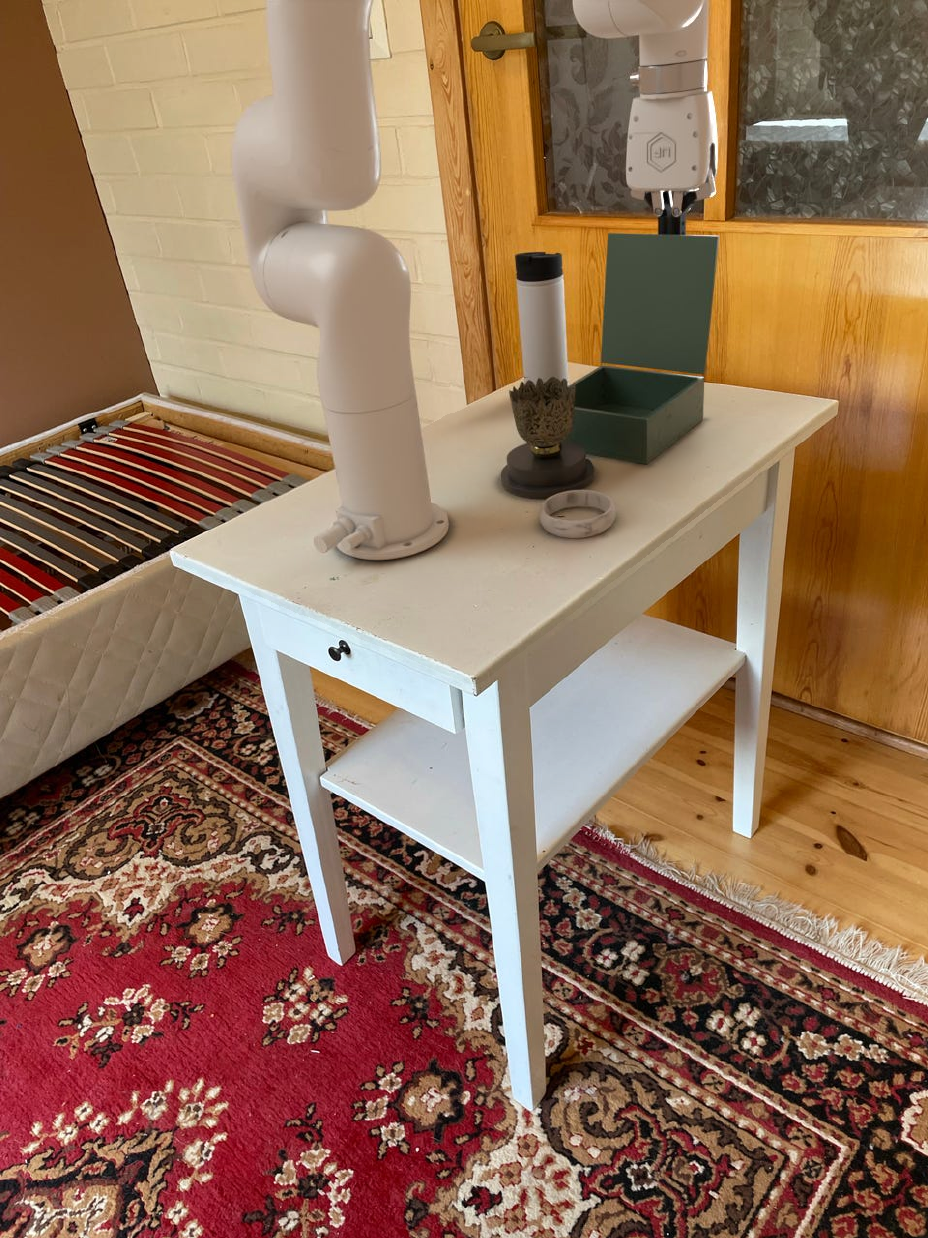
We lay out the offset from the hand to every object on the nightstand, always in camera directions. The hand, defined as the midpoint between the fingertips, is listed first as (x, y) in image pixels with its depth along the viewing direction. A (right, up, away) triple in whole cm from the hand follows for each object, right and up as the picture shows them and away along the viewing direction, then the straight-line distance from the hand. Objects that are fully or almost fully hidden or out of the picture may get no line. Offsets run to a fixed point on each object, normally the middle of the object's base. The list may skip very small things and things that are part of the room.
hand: (671, 248), depth 117 cm
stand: (-16, -30, -7) cm, 35 cm away
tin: (-6, -23, +2) cm, 23 cm away
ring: (-14, -36, -17) cm, 42 cm away
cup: (-16, -27, -8) cm, 33 cm away
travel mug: (-14, -15, +16) cm, 26 cm away
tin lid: (-2, -7, 0) cm, 7 cm away
